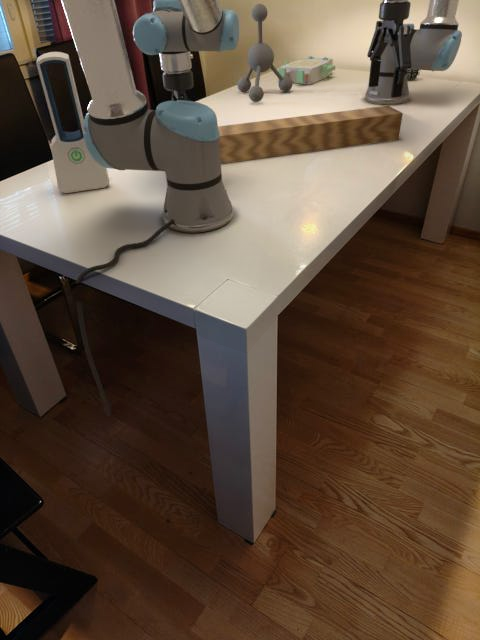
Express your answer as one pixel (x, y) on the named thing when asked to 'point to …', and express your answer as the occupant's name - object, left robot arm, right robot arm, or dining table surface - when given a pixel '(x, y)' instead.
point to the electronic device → (70, 137)
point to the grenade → (412, 74)
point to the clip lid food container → (307, 70)
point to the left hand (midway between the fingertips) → (187, 160)
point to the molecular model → (261, 61)
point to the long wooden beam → (308, 133)
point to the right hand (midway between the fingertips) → (384, 91)
